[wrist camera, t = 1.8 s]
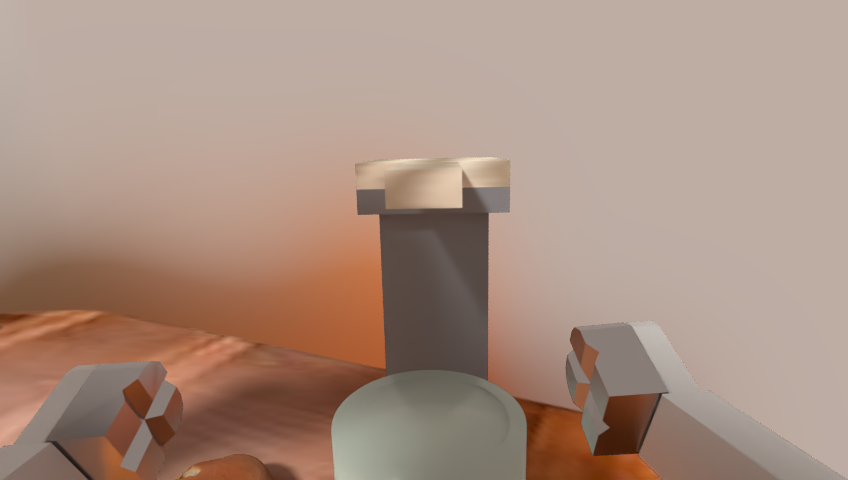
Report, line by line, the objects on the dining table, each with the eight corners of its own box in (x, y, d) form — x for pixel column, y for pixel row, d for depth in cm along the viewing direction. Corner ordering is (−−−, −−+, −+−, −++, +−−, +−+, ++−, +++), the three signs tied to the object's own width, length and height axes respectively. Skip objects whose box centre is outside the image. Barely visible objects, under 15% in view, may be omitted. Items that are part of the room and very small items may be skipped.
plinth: (373, 515, 42) (356, 189, 36) (390, 434, 53) (379, 179, 47) (504, 518, 41) (509, 186, 35) (492, 435, 53) (494, 176, 47)
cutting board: (310, 210, 24) (307, 172, 23) (379, 179, 47) (378, 159, 47) (540, 206, 23) (541, 167, 23) (494, 176, 47) (494, 157, 46)
